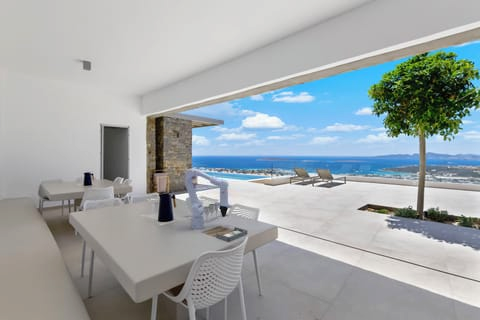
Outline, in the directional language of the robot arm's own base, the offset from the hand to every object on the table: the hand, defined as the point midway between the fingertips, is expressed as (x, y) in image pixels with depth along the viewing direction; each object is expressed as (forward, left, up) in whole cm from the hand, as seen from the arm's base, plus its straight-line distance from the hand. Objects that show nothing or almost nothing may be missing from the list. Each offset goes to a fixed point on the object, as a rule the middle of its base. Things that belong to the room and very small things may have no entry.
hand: (223, 216), depth 163 cm
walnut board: (+2, -7, -9) cm, 12 cm away
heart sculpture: (-39, +4, -10) cm, 40 cm away
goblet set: (-24, +16, -10) cm, 30 cm away
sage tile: (+15, -2, -9) cm, 17 cm away
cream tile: (+15, -11, -9) cm, 20 cm away
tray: (+15, -7, -9) cm, 19 cm away
